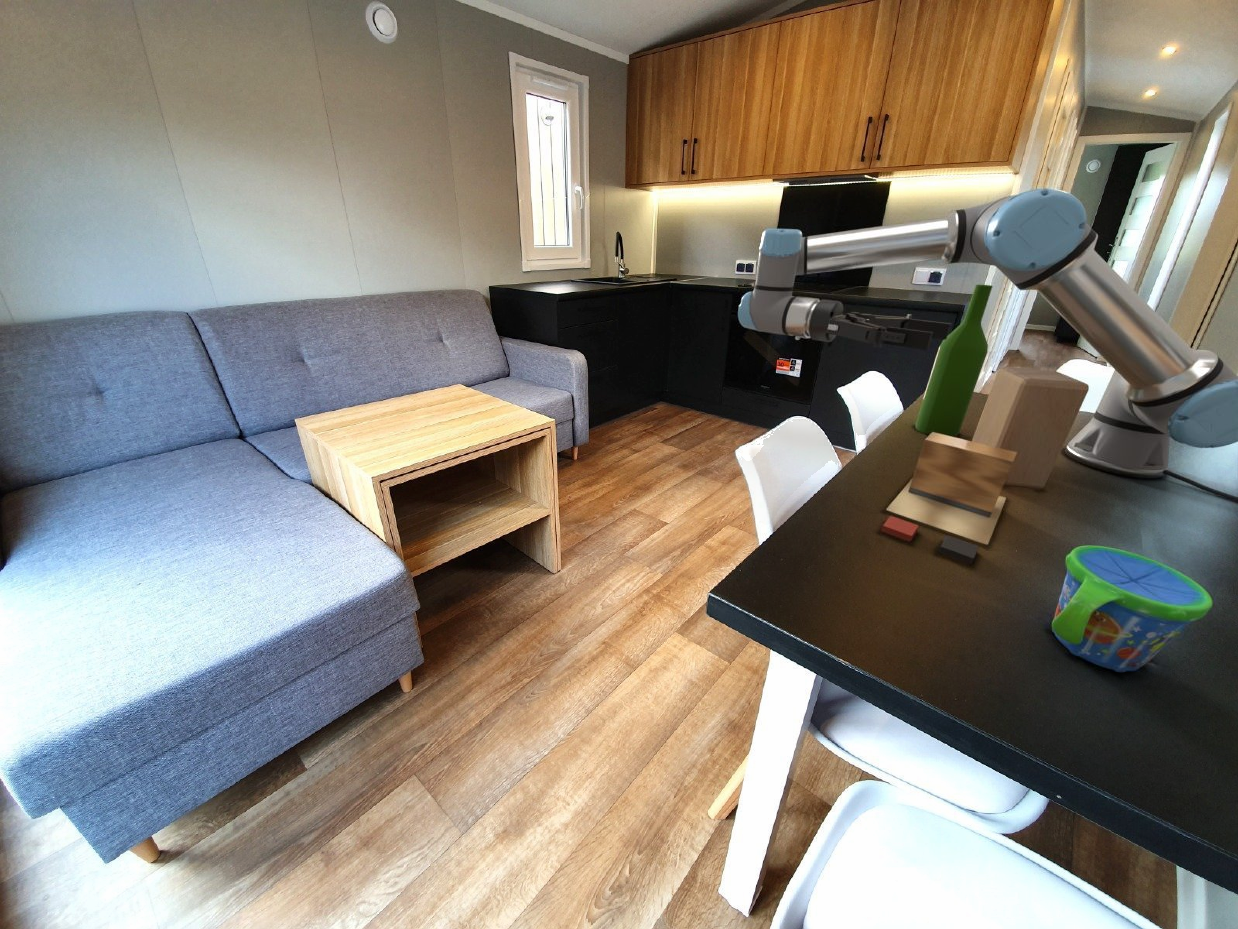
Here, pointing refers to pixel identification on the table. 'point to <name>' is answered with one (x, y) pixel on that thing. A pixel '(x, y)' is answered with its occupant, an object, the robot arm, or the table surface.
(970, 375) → the wine bottle
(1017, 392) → the block
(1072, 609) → the snack cup
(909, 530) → the crumb
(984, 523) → the board
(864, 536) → the table surface
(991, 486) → the eraser
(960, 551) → the crumb
